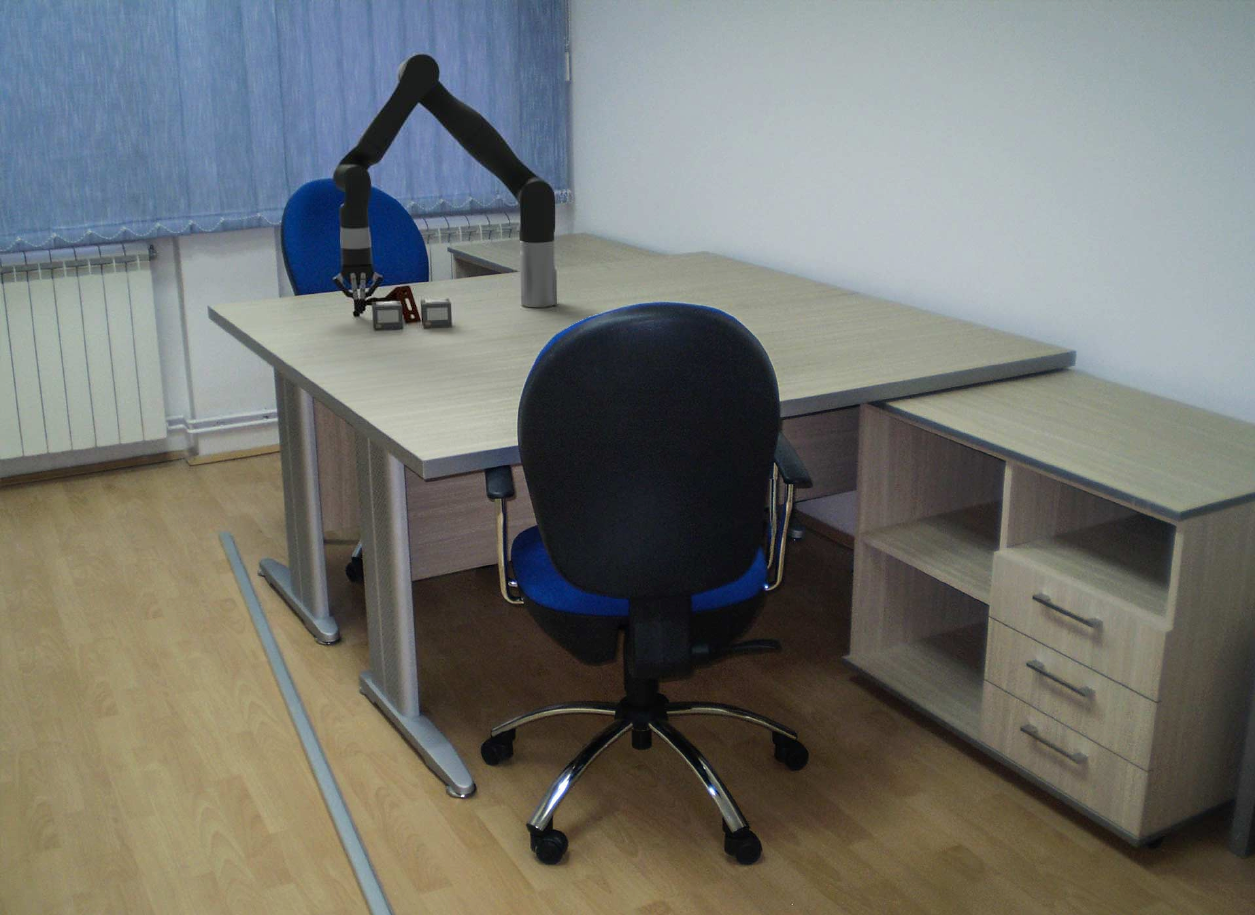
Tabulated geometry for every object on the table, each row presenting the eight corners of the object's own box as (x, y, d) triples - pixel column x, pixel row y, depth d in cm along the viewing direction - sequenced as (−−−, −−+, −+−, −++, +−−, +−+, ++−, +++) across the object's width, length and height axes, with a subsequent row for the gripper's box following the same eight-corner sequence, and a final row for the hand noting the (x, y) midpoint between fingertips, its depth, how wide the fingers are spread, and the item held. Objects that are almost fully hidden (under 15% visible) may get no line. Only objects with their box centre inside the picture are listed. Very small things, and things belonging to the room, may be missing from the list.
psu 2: (449, 321, 321) (448, 297, 319) (452, 327, 315) (451, 302, 314) (421, 323, 320) (420, 299, 318) (423, 328, 314) (422, 303, 312)
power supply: (401, 324, 319) (400, 300, 317) (403, 329, 313) (401, 304, 311) (373, 325, 317) (371, 301, 315) (374, 331, 311) (372, 306, 309)
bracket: (385, 327, 316) (373, 289, 316) (362, 346, 327) (351, 309, 328) (421, 321, 322) (410, 284, 323) (398, 340, 333) (387, 304, 334)
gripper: (381, 242, 324) (385, 309, 329) (328, 243, 321) (333, 311, 326) (383, 246, 317) (387, 315, 322) (329, 248, 314) (333, 317, 319)
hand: (360, 313), depth 324 cm, fingers closed
